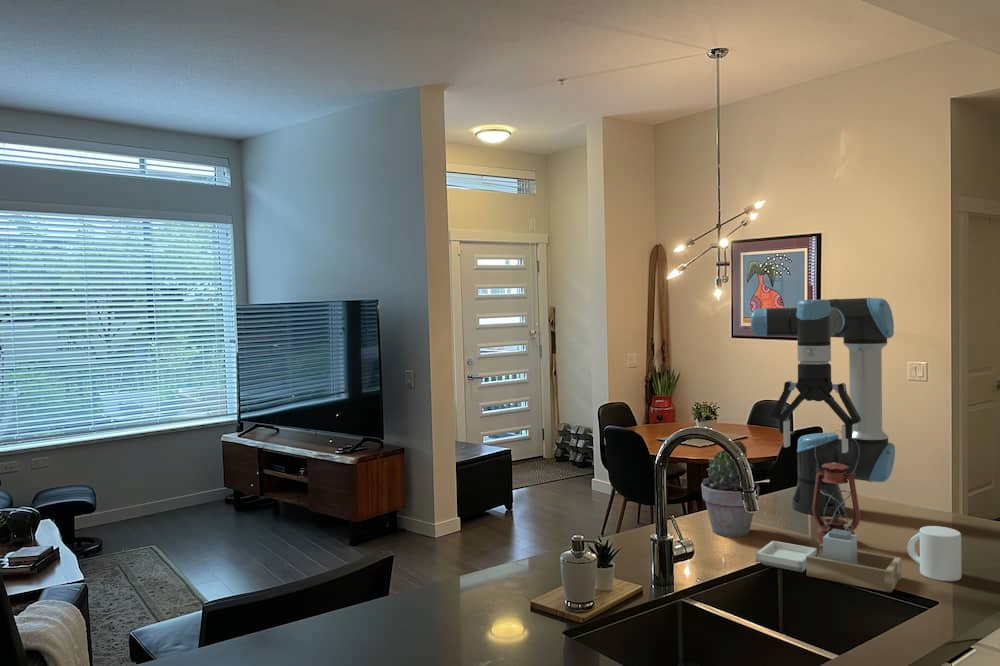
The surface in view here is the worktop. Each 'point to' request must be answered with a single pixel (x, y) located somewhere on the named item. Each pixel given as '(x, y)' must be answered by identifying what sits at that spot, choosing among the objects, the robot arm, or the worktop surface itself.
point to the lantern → (836, 476)
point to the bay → (858, 570)
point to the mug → (938, 552)
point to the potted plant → (726, 496)
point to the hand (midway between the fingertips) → (815, 449)
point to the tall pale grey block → (840, 546)
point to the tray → (785, 555)
